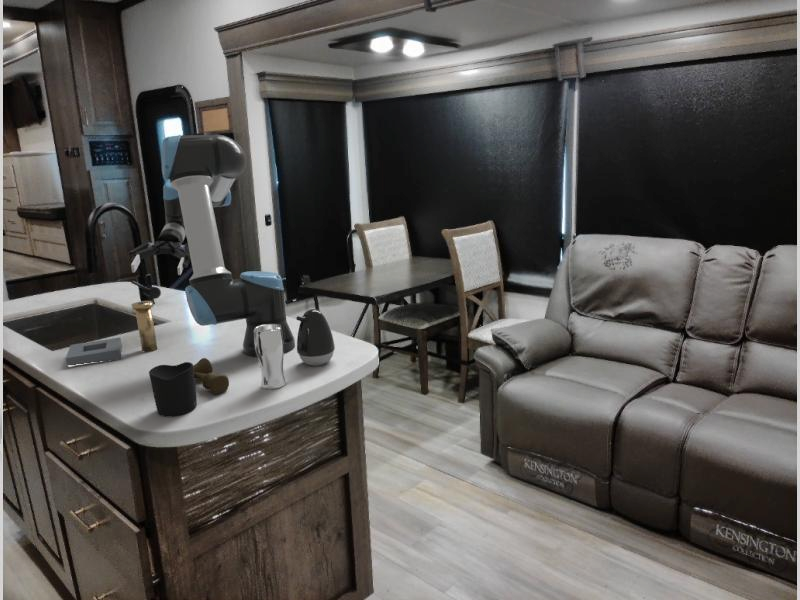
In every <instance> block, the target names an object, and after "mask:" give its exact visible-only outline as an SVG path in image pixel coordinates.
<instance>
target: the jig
mask: <svg viewBox="0 0 800 600" xmlns="http://www.w3.org/2000/svg"><path fill="white" fill-rule="evenodd" d="M121 352H123V343H122V337H120V336H119V337H112V338H107V339H102V340H100V339H99V340H95V341H94V340H93V341H88V342H82V343H75V344H70V346H69V349H68V351H67V354H66V357H65V360H66V366H67V365H76V364H84V363H91V362H100V361H107V362H110V361H109V360H113V361H116V359H119V360H122V355H121Z"/></svg>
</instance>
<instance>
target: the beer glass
mask: <svg viewBox="0 0 800 600" xmlns="http://www.w3.org/2000/svg"><path fill="white" fill-rule="evenodd" d="M254 343H255V350H256V355H257V356H256V359H257V360H258V364H259V368H260V372H261V386H260V387H261V388H262V389H264V390H277V389H281V388H284V387H285V386H286V385H287V380H286V377H285V373H284V357H285V355H284V354H285V353H284V342H283V335H282V330H281V326H280V325H278V324H265V325H260V326H257V327H255V328H254Z"/></svg>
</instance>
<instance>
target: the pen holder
mask: <svg viewBox="0 0 800 600" xmlns="http://www.w3.org/2000/svg"><path fill="white" fill-rule="evenodd" d="M193 365H194V364H193V363H192V362H189V361H185V362H181V363H180V364H176V365H172V364H171V365H169V364H161V365H160V364H159V365H157V366H154V367H152V368H151V369H150V370H148V375H149V379H150V384H151V389H152V390H151V391H152V395H153V399H154V403H155V406H156V407H155V408H156V411H157V413H158V414H159V415H160V416H162V415H163V416H162V417H166V416H172V417H177V416H178V417H179V416H183V415H187V414H188V413H190V412H192V411H194V410H195V409H196V407H197V405H198V400H197V390H196V381H195V380H196V378H195V379H194V370H193Z"/></svg>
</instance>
